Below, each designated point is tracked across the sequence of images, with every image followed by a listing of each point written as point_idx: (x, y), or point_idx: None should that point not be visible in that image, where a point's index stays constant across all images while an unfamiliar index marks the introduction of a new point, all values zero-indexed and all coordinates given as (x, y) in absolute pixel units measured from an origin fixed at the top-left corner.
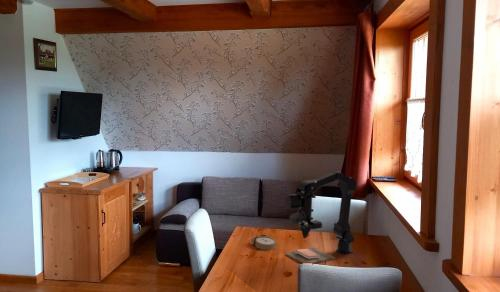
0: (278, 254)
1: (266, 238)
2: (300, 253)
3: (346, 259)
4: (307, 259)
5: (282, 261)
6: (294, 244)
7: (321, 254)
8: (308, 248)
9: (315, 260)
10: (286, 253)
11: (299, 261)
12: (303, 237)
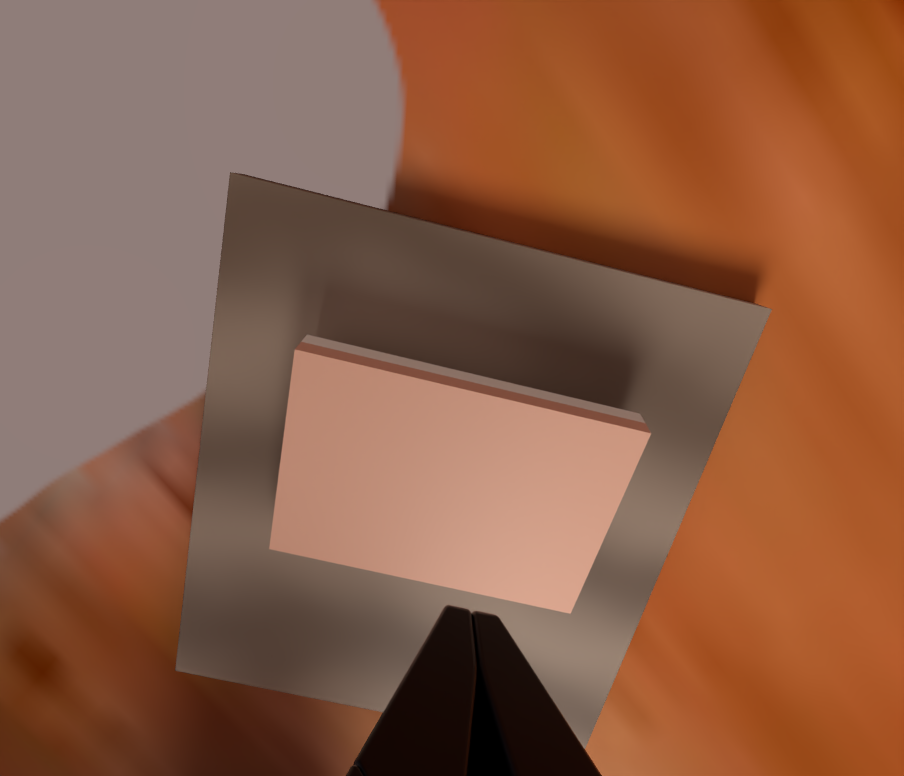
0: (868, 231)
1: None
2: (511, 389)
3: (100, 730)
4: None
5: (639, 17)
6: (864, 698)
7: (342, 635)
8: (603, 683)
9: (241, 406)
10: (754, 305)
11: (404, 215)
12: (494, 615)
